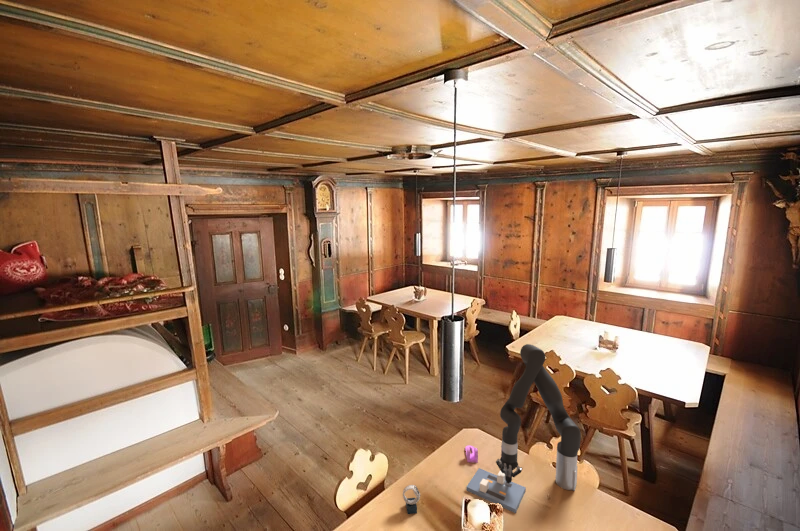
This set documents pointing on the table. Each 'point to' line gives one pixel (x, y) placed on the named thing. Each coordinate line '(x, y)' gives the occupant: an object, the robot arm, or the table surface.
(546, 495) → the table surface
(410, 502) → the watch
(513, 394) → the robot arm
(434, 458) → the table surface
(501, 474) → the tab
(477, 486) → the switch bank
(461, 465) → the table surface
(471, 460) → the bracket
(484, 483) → the tab
